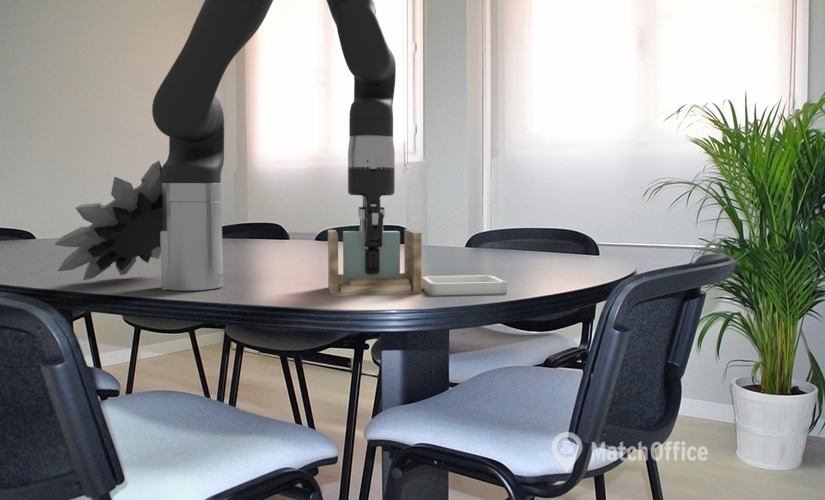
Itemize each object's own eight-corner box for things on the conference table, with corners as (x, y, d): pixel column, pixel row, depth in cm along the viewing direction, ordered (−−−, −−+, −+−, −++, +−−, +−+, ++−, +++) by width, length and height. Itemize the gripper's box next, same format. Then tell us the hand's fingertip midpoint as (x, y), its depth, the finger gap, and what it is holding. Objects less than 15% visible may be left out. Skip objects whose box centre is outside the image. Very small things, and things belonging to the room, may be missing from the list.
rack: (330, 296, 102) (329, 233, 101) (328, 287, 112) (327, 229, 111) (421, 294, 104) (421, 232, 103) (411, 285, 114) (411, 229, 113)
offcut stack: (340, 292, 103) (340, 281, 103) (339, 289, 106) (339, 279, 105) (411, 290, 104) (411, 280, 104) (408, 287, 107) (408, 277, 107)
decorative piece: (93, 314, 124) (29, 242, 97) (82, 299, 125) (16, 223, 98) (231, 226, 135) (208, 140, 108) (220, 213, 136) (195, 124, 110)
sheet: (344, 285, 108) (344, 232, 107) (343, 282, 110) (343, 231, 110) (399, 284, 109) (400, 232, 108) (397, 281, 112) (397, 231, 111)
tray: (430, 296, 102) (430, 283, 102) (420, 288, 111) (420, 276, 111) (506, 295, 104) (507, 282, 104) (491, 286, 113) (491, 275, 112)
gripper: (345, 167, 114) (345, 267, 116) (350, 163, 101) (350, 278, 102) (389, 167, 115) (388, 267, 117) (400, 164, 102) (399, 277, 103)
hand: (371, 271), depth 110 cm, fingers closed on sheet, 3 cm apart
